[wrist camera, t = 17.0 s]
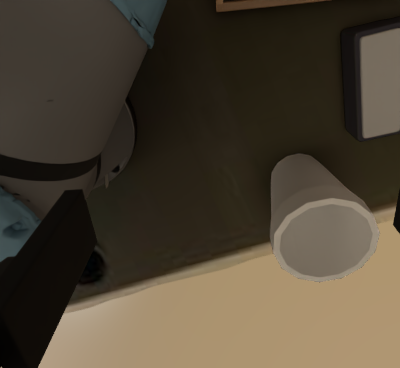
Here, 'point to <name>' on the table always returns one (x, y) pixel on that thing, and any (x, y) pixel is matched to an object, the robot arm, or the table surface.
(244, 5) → the wooden box
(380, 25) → the calculator
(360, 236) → the foam cup
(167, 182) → the table surface
